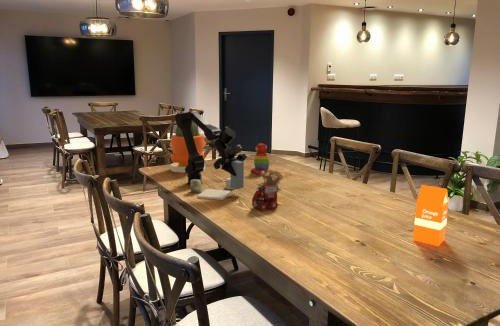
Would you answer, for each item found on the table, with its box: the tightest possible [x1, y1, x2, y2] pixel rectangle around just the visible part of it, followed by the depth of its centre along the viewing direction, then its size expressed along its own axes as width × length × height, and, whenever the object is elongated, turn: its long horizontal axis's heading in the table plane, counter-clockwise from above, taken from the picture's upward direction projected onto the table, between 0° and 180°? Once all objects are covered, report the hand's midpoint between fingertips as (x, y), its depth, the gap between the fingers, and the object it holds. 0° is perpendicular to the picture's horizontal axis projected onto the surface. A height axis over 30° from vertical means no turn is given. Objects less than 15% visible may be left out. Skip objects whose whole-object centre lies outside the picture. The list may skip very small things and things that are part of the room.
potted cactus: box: [169, 117, 207, 174], centre depth 254 cm, size 22×22×35 cm
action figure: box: [260, 169, 284, 187], centre depth 223 cm, size 10×11×15 cm
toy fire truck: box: [251, 185, 279, 212], centre depth 184 cm, size 7×12×10 cm, turn 115°
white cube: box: [225, 176, 235, 190], centre depth 218 cm, size 5×5×5 cm
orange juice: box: [412, 184, 449, 247], centre depth 149 cm, size 8×9×20 cm
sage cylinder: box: [190, 179, 202, 194], centre depth 209 cm, size 5×5×6 cm
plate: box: [196, 188, 232, 201], centre depth 204 cm, size 13×13×1 cm
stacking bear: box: [250, 142, 270, 176], centre depth 252 cm, size 11×10×18 cm
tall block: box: [230, 161, 245, 190], centre depth 203 cm, size 4×4×13 cm
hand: (239, 175), depth 202 cm, fingers closed on tall block, 4 cm apart
